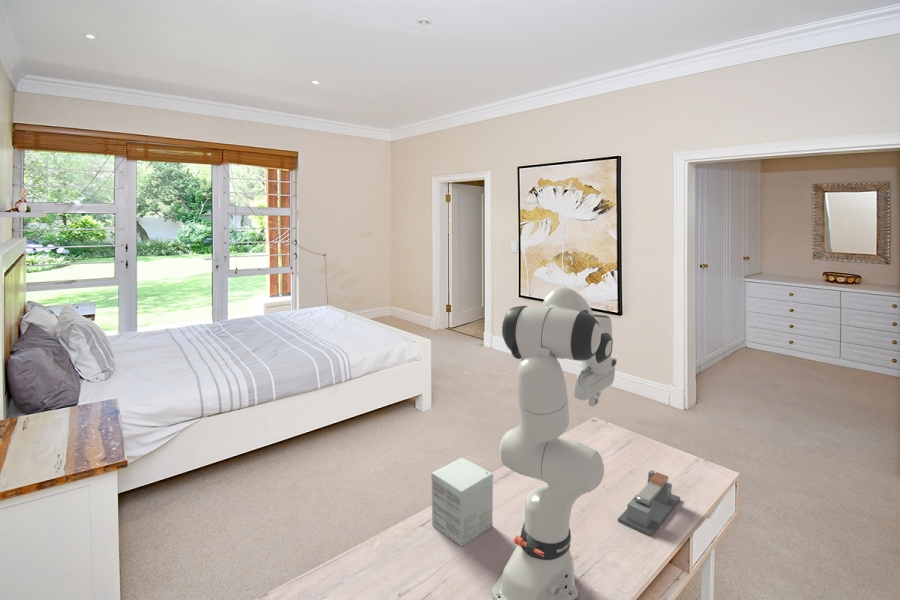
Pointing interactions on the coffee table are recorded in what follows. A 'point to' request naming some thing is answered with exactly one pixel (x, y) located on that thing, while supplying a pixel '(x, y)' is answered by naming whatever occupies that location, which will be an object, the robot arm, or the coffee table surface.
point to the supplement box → (462, 500)
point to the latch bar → (651, 489)
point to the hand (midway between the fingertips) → (593, 404)
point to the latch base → (657, 516)
